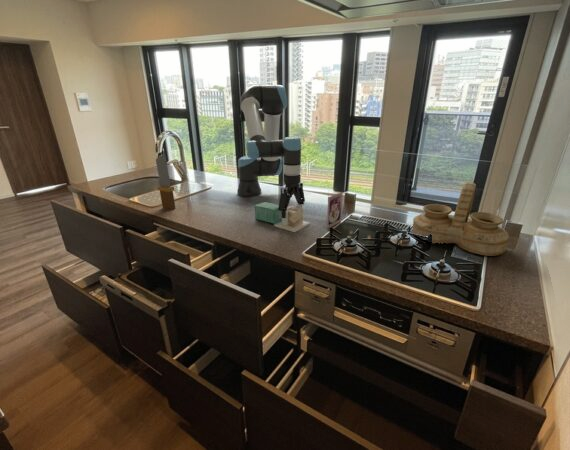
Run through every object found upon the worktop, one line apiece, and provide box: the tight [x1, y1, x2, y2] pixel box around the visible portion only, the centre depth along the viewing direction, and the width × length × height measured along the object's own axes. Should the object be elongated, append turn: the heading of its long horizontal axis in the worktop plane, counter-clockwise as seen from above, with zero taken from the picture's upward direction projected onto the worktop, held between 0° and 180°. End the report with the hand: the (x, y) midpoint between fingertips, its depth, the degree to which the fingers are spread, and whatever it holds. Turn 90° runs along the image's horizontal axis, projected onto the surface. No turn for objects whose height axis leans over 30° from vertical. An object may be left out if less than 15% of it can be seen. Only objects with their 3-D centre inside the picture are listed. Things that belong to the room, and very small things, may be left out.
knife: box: [155, 153, 176, 211], centre depth 158 cm, size 8×4×30 cm, turn 62°
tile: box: [273, 220, 311, 233], centre depth 140 cm, size 12×12×1 cm
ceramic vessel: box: [411, 181, 510, 257], centre depth 117 cm, size 34×18×25 cm, turn 54°
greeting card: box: [326, 190, 344, 229], centre depth 139 cm, size 11×7×15 cm, turn 137°
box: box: [254, 201, 282, 225], centre depth 144 cm, size 7×14×8 cm, turn 50°
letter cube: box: [283, 205, 304, 227], centre depth 138 cm, size 7×7×7 cm
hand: (292, 220), depth 139 cm, fingers open, 10 cm apart
